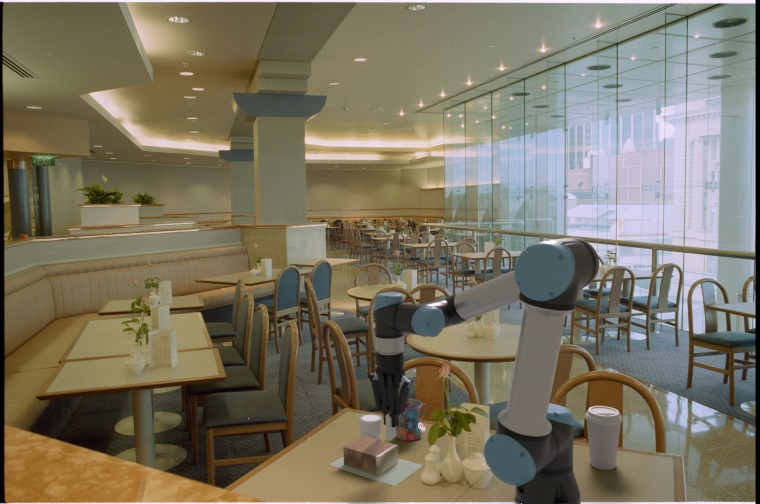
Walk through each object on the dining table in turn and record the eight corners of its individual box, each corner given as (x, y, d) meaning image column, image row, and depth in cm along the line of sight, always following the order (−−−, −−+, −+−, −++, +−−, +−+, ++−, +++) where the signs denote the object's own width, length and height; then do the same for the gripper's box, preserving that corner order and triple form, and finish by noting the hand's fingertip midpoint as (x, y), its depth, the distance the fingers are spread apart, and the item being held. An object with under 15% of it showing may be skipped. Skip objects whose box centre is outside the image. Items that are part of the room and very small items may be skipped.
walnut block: (397, 445, 162) (363, 435, 169) (378, 457, 155) (343, 446, 162) (398, 462, 163) (363, 452, 170) (379, 475, 155) (343, 464, 162)
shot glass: (356, 437, 182) (355, 415, 181) (376, 433, 184) (375, 412, 184) (365, 446, 175) (364, 423, 175) (385, 441, 178) (385, 419, 178)
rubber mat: (423, 467, 161) (423, 465, 161) (394, 488, 150) (394, 485, 150) (359, 448, 174) (359, 446, 174) (328, 466, 162) (328, 464, 162)
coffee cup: (581, 468, 158) (582, 414, 157) (587, 454, 167) (587, 402, 165) (619, 475, 154) (620, 419, 152) (623, 460, 162) (624, 407, 161)
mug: (403, 445, 175) (402, 411, 174) (387, 435, 183) (386, 402, 182) (436, 437, 181) (435, 403, 180) (419, 427, 189) (418, 394, 188)
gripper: (418, 351, 155) (419, 438, 157) (378, 345, 162) (379, 427, 164) (402, 358, 149) (403, 448, 151) (361, 351, 156) (363, 437, 158)
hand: (391, 437), depth 158 cm, fingers closed
